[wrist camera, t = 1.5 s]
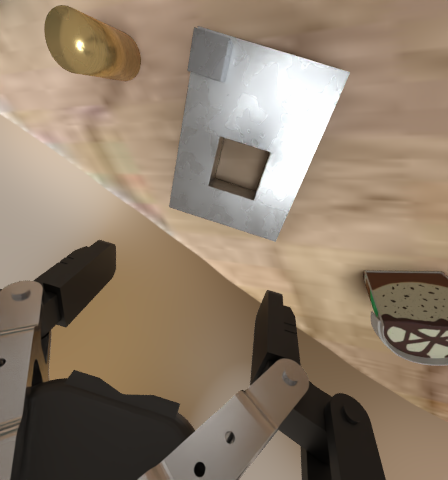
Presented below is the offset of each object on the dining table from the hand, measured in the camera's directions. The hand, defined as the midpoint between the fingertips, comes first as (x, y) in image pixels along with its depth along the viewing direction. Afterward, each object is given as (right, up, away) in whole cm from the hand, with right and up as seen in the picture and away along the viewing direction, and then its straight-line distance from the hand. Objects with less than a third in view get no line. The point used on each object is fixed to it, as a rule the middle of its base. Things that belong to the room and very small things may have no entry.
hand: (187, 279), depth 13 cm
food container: (+26, -5, +22) cm, 35 cm away
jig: (+5, +13, +17) cm, 22 cm away
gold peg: (-9, +22, +14) cm, 28 cm away
